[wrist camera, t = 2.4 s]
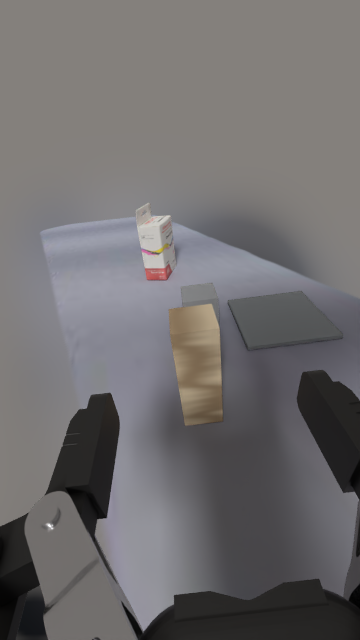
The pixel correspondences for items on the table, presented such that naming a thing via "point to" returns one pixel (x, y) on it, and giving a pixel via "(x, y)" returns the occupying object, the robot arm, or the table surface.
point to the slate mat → (281, 321)
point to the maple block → (197, 362)
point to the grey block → (200, 296)
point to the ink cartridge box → (156, 244)
